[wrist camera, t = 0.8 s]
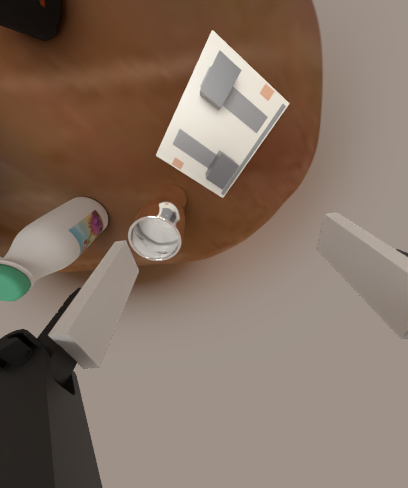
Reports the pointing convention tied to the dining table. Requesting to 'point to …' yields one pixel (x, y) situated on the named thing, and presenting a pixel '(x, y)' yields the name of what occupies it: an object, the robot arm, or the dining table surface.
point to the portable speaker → (31, 16)
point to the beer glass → (160, 224)
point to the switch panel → (220, 119)
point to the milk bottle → (50, 245)
